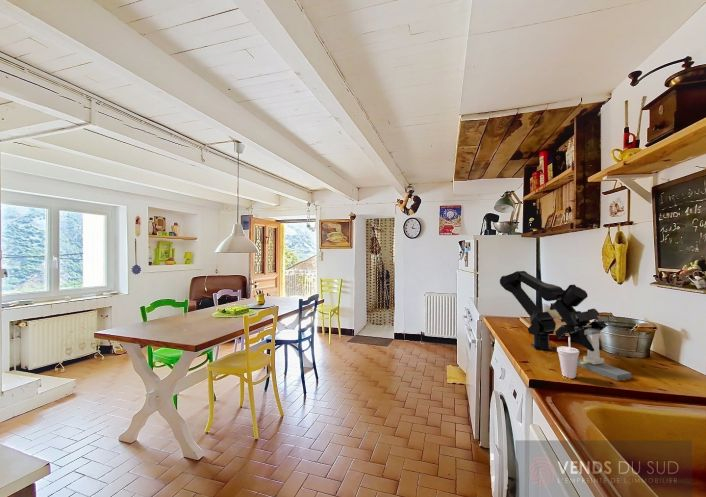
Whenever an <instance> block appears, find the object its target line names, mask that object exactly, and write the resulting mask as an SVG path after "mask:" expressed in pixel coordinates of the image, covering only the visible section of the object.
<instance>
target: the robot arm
mask: <svg viewBox="0 0 706 497" xmlns="http://www.w3.org/2000/svg"><path fill="white" fill-rule="evenodd" d="M522 283H523V284H525V285H526V286H527V287H530V288H531V289H533V290H535V291H536V292H537V293H538V295H539V296H540V297H541V299H543V300H544V301H546V302H552V303H550V306H549V310H550V311H556V312H557V314H558V315H559V317H560V318H561V319H560V322H562V323H565V324H562V325H561V326H559V327H558V328H557V329H556V327H557V326H556V321H555V318H554V317H553V316H552V315H551V314H550V313H549V311H542V310H540V309H539V307H538V306H537V305H536V303H535V302H534V301H533V300H532V299H531V297H530V296H529V295H528V294H527V293H526V292H525V290H524V289H523V288H522ZM499 284H500V286H501V287H502V288H503V289H504V290H505V291H507V292H509V293H511V294H512V296H514V298H515V299H516V300H517V301H518V303H519V304H520V305H521V306H522V308H523V309H524V311H525V312H526V314H528V316H529V319H530V321H529V322H530V324H531V325H530V326H529V327H527V331H528V334H530V335H533V343H531V344H530V346H532V347H533V349H534V350H539V351H553V348H552V347H551V346H550V335H554V333H555V336H556V337H557V338H558V339H565V338H566V334H569V337H570V341H573V342H575V343H577V344H579V345H580V346H582V347H584V348H586V349H589V350H590V351H594V348H593V347H592V345H591V344H590V342H589V341H588V339H587V333H585V330H587V329H596V330H600V332H601V331H602V330H604V329H605V328H607V327H608V324H606V322H605V321H603V320H599V318H598V317H600V312H599V311H598V310H597V309H596V308H590V309H587V311H580V310H576V309H575V308H576V307H578V306H580V304H582V303H583V302H584V301H585V300H586V299H587V298H588V293H587V291H586V290H584V289H583V288H581V287H578V286H576V284H569V285H568V287H567V288H566V289H563V288H562V287H561V286H559V285H556V284H551V283H547V282H544V281H542V280H540V279H539V278H537V277H535V276H533V275H532V274H530V273H528V272H527V271H525V270H517V271H515V272H513V273H510V274H507V275H501V277H500V279H499ZM593 320H594V321H593ZM591 321H592V322H591ZM602 350H603V348H602V345H601V342H600V341H599V351H602Z"/></svg>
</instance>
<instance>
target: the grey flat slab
mask: <svg viewBox="0 0 706 497" xmlns="http://www.w3.org/2000/svg"><path fill="white" fill-rule="evenodd" d="M580 366H581V367H580ZM577 367H580V368H583V367H584V368H583V369H585V368H586V370H587V371H590V370H591V371H590V372H594V373H595V372H596V374H598V375H600V374H601V375H600V376H603V377H605V376H607V377H610V378H612V379H615V380H623V379H628V380H631V379H632V373H631V372H629V371H628V370H627V371H626V370H624V369H621V368H618V367H616V366H613V365H612V364H611V365H610V364H608V363H606V362H604V363H601V364H595V365H594V364H591V363H589V362H586V361H584V358H583V359H582V358H581V359H578V362H577ZM607 377H606V378H607ZM610 378H609V379H610ZM630 378H631V379H630ZM612 379H611V380H612ZM615 380H614V381H615ZM623 381H624V380H623Z"/></svg>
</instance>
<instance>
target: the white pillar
mask: <svg viewBox="0 0 706 497" xmlns="http://www.w3.org/2000/svg"><path fill="white" fill-rule="evenodd" d="M585 333H587V339H588V341H589V342H590V344H591V345H592V347H593V348H594V351H590V350H589V349H587V348H586V349H587V355H583V359H584V361H586V362H589V363H591V364H594V365H595V364H601V363H605V358H603V357H600V355H601V354H600V350H599V342H600V334H601V331H600V330H596V329H587V330H585Z"/></svg>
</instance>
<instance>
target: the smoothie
mask: <svg viewBox="0 0 706 497" xmlns="http://www.w3.org/2000/svg"><path fill="white" fill-rule="evenodd" d="M567 340H568V346H562V345H561V346H557V347H556V352H557V354H558V359H559V364H560V370H561V375H563V376H566V377H569V378H575V377H577V369H578V365H577V362H578V360H579V355H580V350H579V349H577V348H575V347H571V339H570V336H568V339H567ZM563 376H562V377H563Z"/></svg>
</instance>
